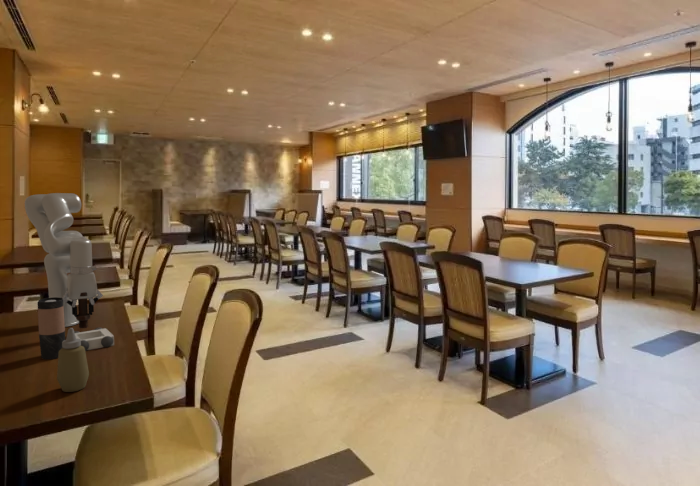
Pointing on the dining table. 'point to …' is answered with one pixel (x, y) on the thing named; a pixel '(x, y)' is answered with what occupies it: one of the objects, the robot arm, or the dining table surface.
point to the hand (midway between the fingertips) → (83, 314)
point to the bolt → (83, 312)
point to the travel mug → (51, 326)
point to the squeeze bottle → (72, 364)
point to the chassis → (95, 338)
